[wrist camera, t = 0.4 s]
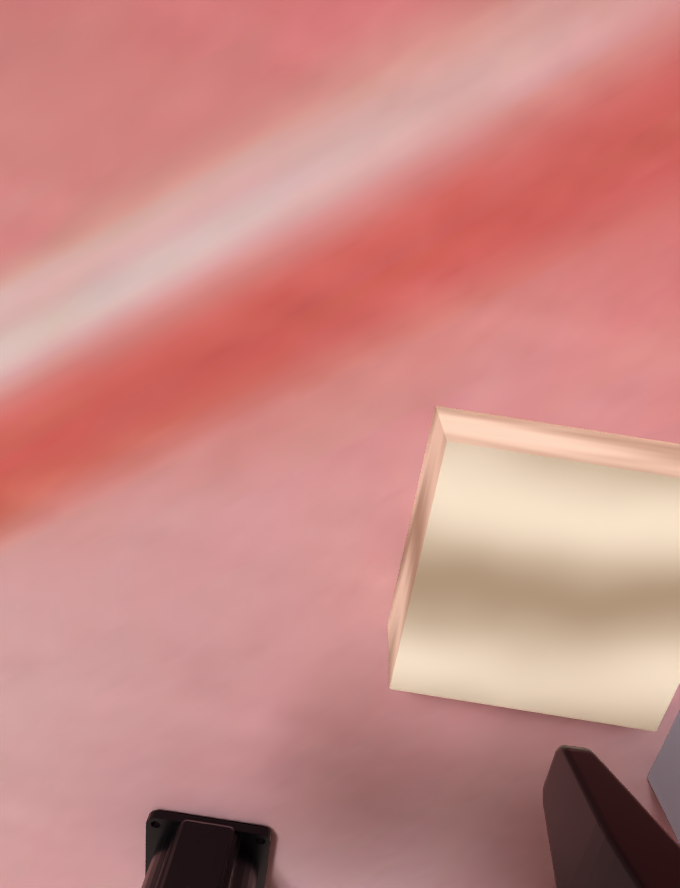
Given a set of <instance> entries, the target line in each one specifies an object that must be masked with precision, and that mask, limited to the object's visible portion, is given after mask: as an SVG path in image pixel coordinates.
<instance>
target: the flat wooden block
mask: <svg viewBox="0 0 680 888" xmlns="http://www.w3.org/2000/svg"><path fill="white" fill-rule="evenodd" d="M388 652H389V689H393V690H399V691H406V692H412V693H418V694H424V695H430V696H437V697H443V698H449V699H455V700H462V701H468V702H474V703H480V704H486V705H493V706H499V707H505V708H511V709H518V710H524V711H530V712H536V713H542V714H549V715H555V716H561V717H567V718H574V719H580V720H586V721H592V722H599V723H605V724H611V725H617V726H623V727H630V728H636V729H642V730H648V731H655V732H656V731H657V729H658V727H659V725H660V723H661V721H662V718H663V716H664V714H665V712H666V710H667V708H668V706H669V704H670V702H671V700H672V698H673V696H674V694H675V691H676V689H677V687H678V685H679V683H680V444H676V443H670V442H664V441H657V440H651V439H644V438H638V437H632V436H625V435H619V434H613V433H606V432H600V431H594V430H587V429H581V428H575V427H568V426H562V425H556V424H549V423H543V422H536V421H530V420H524V419H517V418H511V417H505V416H498V415H492V414H486V413H479V412H473V411H467V410H460V409H454V408H448V407H441V406H435V410H434V415H433V419H432V424H431V428H430V433H429V438H428V442H427V447H426V451H425V456H424V460H423V465H422V470H421V474H420V479H419V483H418V488H417V492H416V497H415V502H414V506H413V511H412V515H411V520H410V524H409V529H408V534H407V538H406V543H405V547H404V552H403V557H402V561H401V566H400V570H399V575H398V579H397V584H396V589H395V593H394V598H393V602H392V607H391V611H390V616H389V621H388Z"/></svg>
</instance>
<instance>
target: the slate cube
mask: <svg viewBox="0 0 680 888" xmlns="http://www.w3.org/2000/svg"><path fill="white" fill-rule="evenodd" d="M647 778H648V781H649V783H650V785H651V787H652V789H653V791H654V793H655V795H656V797H657V799H658V801H659V803H660V805H661V807H662V809H663V811H664V813H665V815H666V817H667V819H668V821H669V823H670V825H671V827H672V829H673V831H674V834H675V836H676V838H677V840H678V842H679V844H680V711H679V713H678V715H677V717H676V719H675V721H674V723H673V725H672V727H671V729H670V731H669V734H668V736H667V738H666V740H665V742H664V744H663V746H662V748H661V750H660V752H659V754H658V756H657V758H656V760H655V762H654V764H653V766H652V769H651V771H650V773H649V775H648V777H647Z"/></svg>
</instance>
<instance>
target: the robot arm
mask: <svg viewBox="0 0 680 888" xmlns="http://www.w3.org/2000/svg"><path fill="white" fill-rule="evenodd" d="M543 805H544V812H545V818H546V825H547V831H548V837H549V843H550V850H551V856H552V862H553V869H554V875H555V881H556V888H680V846H679V845H678V844H677V843H676V842H675V841H674V840H673V839H672V837H671V836H670V835H669V834H668V833H667V832H666V831H665V830H664V829H663V828H662V827H661V825H660V824H659V823H658V822H657V821H656V820H655V819H654V818H653V817H652V816H651V815H650V814H649V812H648V811H647V810H646V809H645V808H644V807H643V806H642V805H641V804H640V803H639V802H638V800H637V799H636V798H635V797H634V796H633V795H632V794H631V793H630V792H629V791H628V790H627V788H626V787H625V786H624V785H623V784H622V783H621V782H620V781H619V780H618V779H617V778H616V777H615V775H614V774H613V773H612V772H611V771H610V770H609V769H608V768H607V767H606V766H605V765H604V763H603V762H602V761H601V760H600V759H599V758H598V757H597V756H596V755H595V754H594V753H593V752H592V751H590V750H589V749H586V748H581V747H573V746H566V745H562V746H560V747H559V748H558V749H557V750H556V752H555V755H554V758H553V761H552V763H551V766H550V769H549V772H548V775H547V778H546V780H545V783H544V788H543ZM271 836H272V834H271V831H270V830H269V829H267V828H265V827H261V826H254V825H248V824H241V823H235V822H229V821H222V820H216V819H210V818H203V817H197V816H190V815H184V814H178V813H171V812H165V811H157V810H155V811H152V812H151V813H150V814H149V817H148V819H147V822H146V874H145V879H144V882H143V885H142V888H264V886H265V879H266V872H267V864H268V857H269V850H270V843H271Z"/></svg>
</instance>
